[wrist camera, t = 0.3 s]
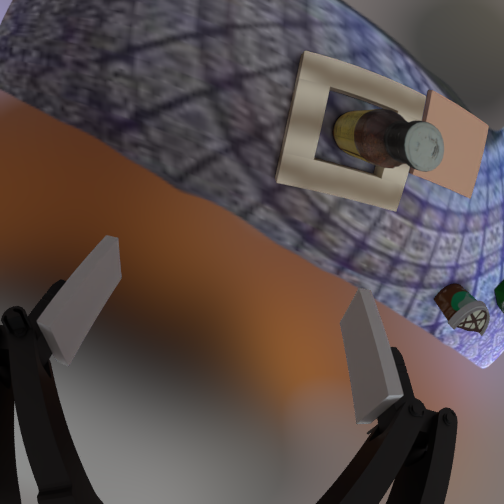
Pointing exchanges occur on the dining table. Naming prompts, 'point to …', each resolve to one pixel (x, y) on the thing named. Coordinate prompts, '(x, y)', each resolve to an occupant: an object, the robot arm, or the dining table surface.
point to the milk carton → (500, 295)
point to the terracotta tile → (455, 144)
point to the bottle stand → (310, 121)
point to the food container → (462, 309)
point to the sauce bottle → (389, 139)
